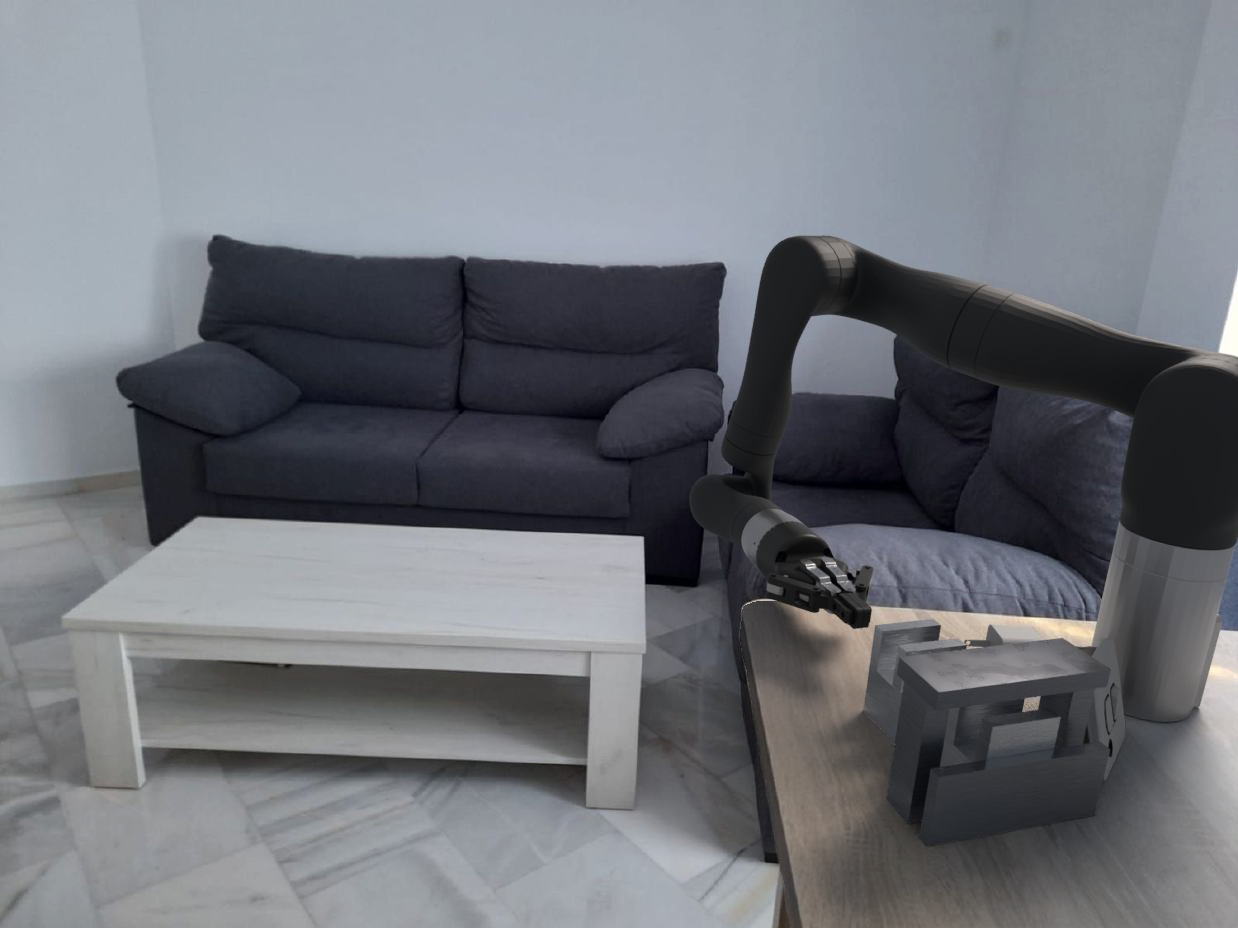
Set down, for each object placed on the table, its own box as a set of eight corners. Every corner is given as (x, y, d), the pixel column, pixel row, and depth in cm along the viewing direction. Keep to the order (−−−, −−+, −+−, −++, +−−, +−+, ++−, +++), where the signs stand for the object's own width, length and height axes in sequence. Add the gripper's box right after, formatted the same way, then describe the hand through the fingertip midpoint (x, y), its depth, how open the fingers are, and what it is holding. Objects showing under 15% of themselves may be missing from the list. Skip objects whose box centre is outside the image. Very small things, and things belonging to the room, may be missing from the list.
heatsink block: (919, 704, 83) (933, 618, 80) (1039, 817, 68) (1060, 716, 66) (863, 712, 81) (875, 624, 79) (973, 829, 67) (992, 726, 64)
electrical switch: (1104, 788, 72) (1115, 684, 70) (1036, 767, 75) (1045, 667, 73) (1126, 737, 79) (1136, 642, 77) (1063, 720, 82) (1071, 628, 80)
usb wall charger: (1040, 678, 88) (1048, 642, 87) (971, 675, 88) (978, 639, 87) (1024, 658, 92) (1031, 623, 91) (958, 654, 92) (963, 620, 91)
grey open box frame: (1036, 764, 74) (1062, 637, 71) (1094, 815, 68) (1126, 679, 65) (879, 789, 70) (899, 657, 67) (927, 846, 64) (951, 703, 61)
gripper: (734, 523, 99) (806, 590, 83) (839, 516, 102) (927, 579, 86) (729, 584, 101) (798, 661, 85) (832, 575, 104) (917, 647, 89)
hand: (863, 619), depth 86 cm, fingers closed
